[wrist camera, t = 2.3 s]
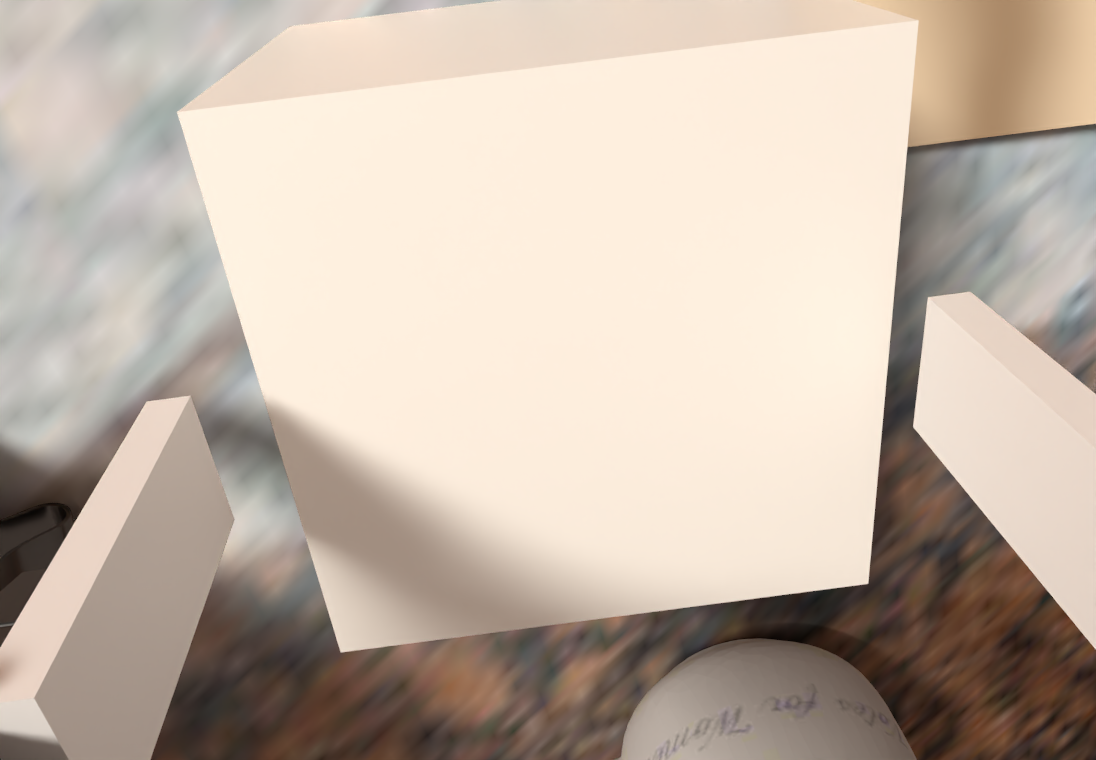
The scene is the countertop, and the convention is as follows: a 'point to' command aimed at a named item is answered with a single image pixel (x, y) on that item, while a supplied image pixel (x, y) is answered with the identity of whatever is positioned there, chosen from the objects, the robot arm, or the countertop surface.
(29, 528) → the coffee press
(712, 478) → the cover
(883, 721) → the teacup
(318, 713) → the countertop surface
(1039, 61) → the board
